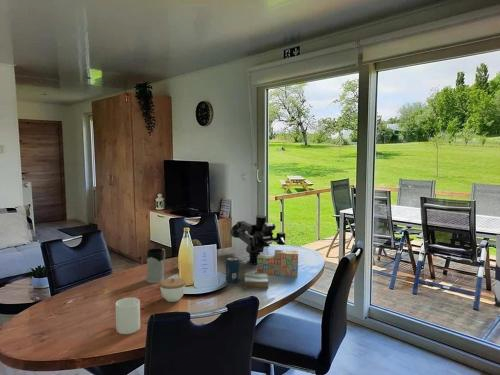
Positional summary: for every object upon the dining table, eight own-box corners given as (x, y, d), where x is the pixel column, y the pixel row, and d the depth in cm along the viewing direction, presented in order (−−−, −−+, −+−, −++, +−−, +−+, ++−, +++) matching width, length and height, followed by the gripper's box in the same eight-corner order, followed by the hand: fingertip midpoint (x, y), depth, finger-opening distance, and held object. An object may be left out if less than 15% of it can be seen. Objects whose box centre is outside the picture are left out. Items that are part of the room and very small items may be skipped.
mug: (106, 326, 136) (105, 299, 135) (127, 318, 143) (126, 293, 142) (124, 337, 129) (123, 309, 128) (144, 329, 135) (144, 301, 134)
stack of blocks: (256, 275, 194) (256, 252, 193) (257, 271, 200) (257, 248, 199) (297, 276, 192) (298, 253, 190) (297, 272, 198) (298, 250, 197)
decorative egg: (205, 262, 213) (205, 237, 212) (203, 268, 203) (202, 242, 201) (187, 262, 214) (187, 237, 212) (183, 268, 203) (183, 241, 201)
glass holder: (143, 281, 182) (142, 252, 181) (157, 272, 196) (157, 244, 194) (159, 283, 180) (158, 253, 178) (172, 274, 193) (172, 246, 192)
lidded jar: (182, 293, 169) (182, 273, 168) (187, 302, 159) (187, 280, 158) (158, 296, 165) (158, 275, 164) (162, 305, 155) (161, 284, 154)
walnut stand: (244, 280, 186) (244, 273, 185) (266, 280, 186) (266, 273, 186) (244, 288, 175) (244, 281, 175) (268, 288, 175) (268, 281, 175)
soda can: (224, 280, 185) (224, 256, 184) (238, 279, 187) (238, 256, 186) (227, 285, 179) (227, 261, 177) (241, 284, 180) (241, 260, 179)
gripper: (248, 222, 199) (261, 231, 185) (278, 220, 207) (293, 227, 193) (247, 242, 201) (260, 252, 187) (277, 239, 209) (292, 248, 195)
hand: (277, 244), depth 190 cm, fingers open, 9 cm apart
